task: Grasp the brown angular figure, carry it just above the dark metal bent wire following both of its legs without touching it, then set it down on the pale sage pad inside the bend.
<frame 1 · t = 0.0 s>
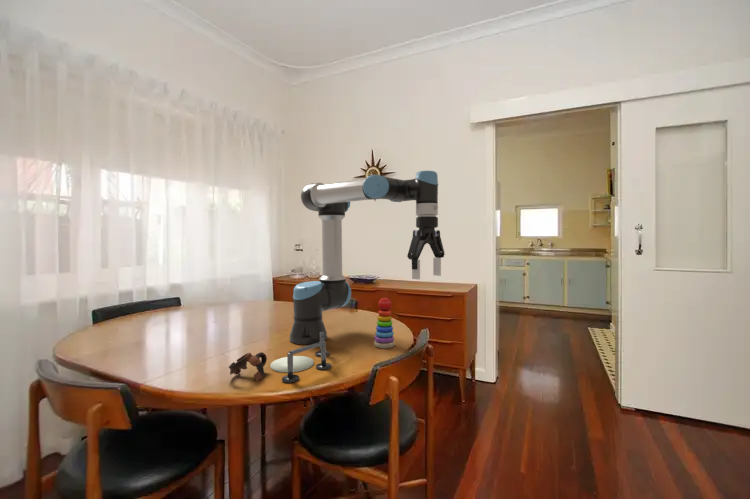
hand: (427, 277, 124), 28 cm above the table, fingers open, 13 cm apart
stacking toy: (384, 346, 138), on the table
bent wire: (306, 366, 117), resting in sage pad
brown angular figure: (250, 376, 109), on the table
sage pad: (292, 364, 118), on the table
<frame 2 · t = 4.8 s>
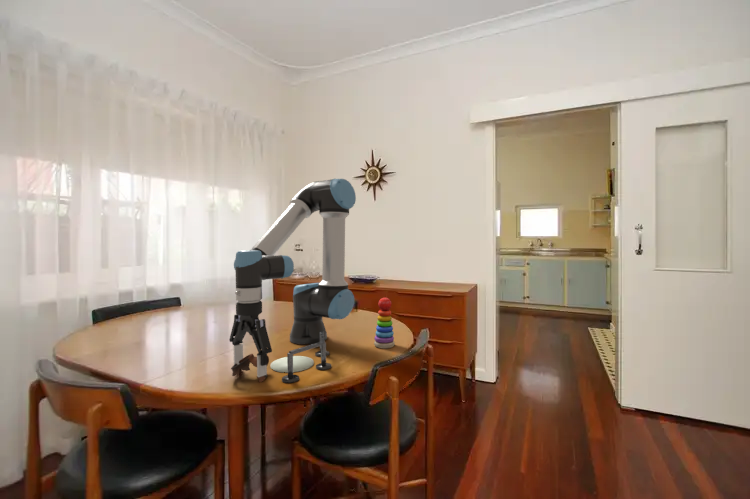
hand: (249, 370, 109), 2 cm above the table, fingers open, 13 cm apart
brown angular figure: (253, 378, 108), on the table
everything else where it was.
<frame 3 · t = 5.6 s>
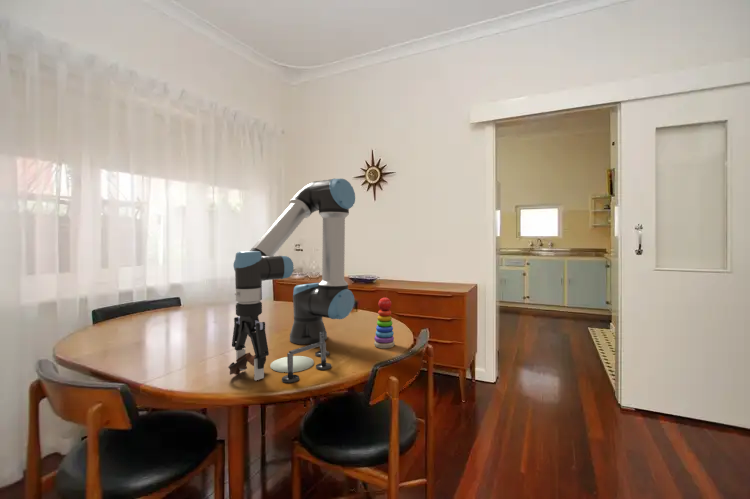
hand: (249, 374, 109), 1 cm above the table, fingers closed on brown angular figure, 10 cm apart
brown angular figure: (250, 376, 109), on the table, touching gripper
everything else where it was.
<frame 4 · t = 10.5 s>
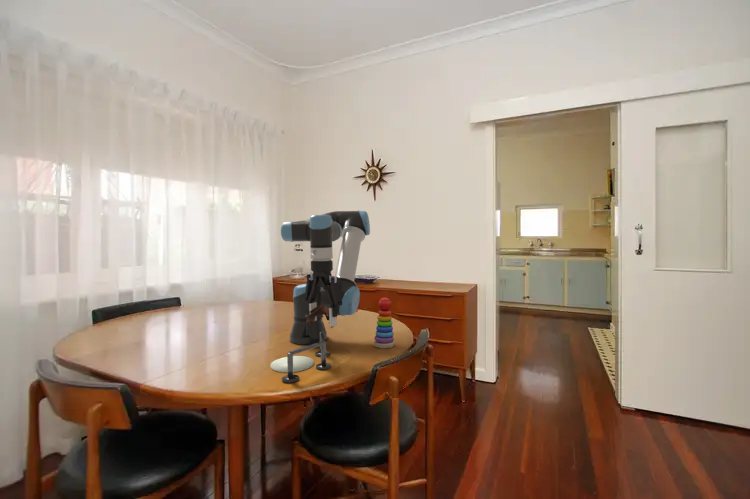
hand: (323, 323, 124), 12 cm above the table, fingers closed on brown angular figure, 10 cm apart
brown angular figure: (323, 325, 125), point 11 cm above the table, touching gripper
everything else where it was.
when the fingers open (2 cm above the table, at t = 15.0 s): brown angular figure stays where it is, resting on sage pad.
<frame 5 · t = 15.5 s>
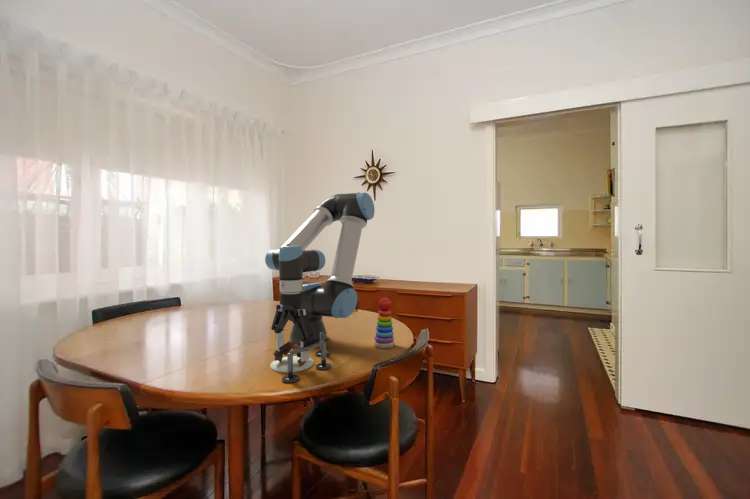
hand: (292, 355, 118), 3 cm above the table, fingers open, 13 cm apart
brown angular figure: (292, 363, 119), resting on sage pad
everything else where it was.
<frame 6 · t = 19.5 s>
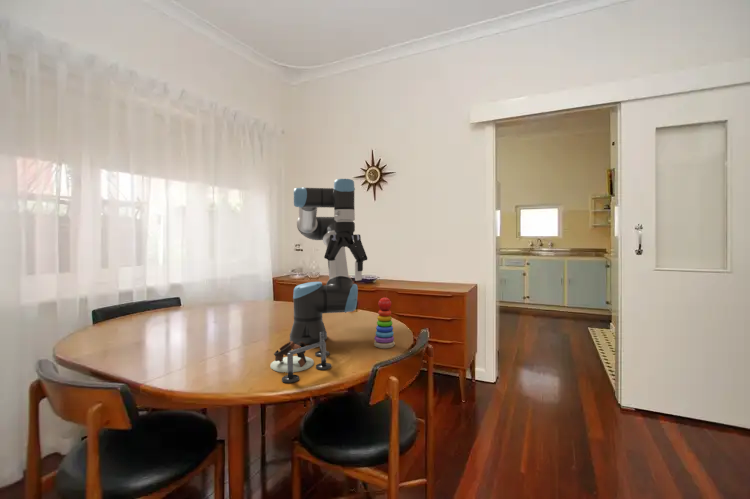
hand: (345, 278, 132), 27 cm above the table, fingers open, 13 cm apart
nothing on the table moved.
at the end: brown angular figure inside the target area on the sage pad (0.4 cm from its centre), point 0.3 cm above the sage pad's base; brown angular figure tilted 1°; brown angular figure touching sage pad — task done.
